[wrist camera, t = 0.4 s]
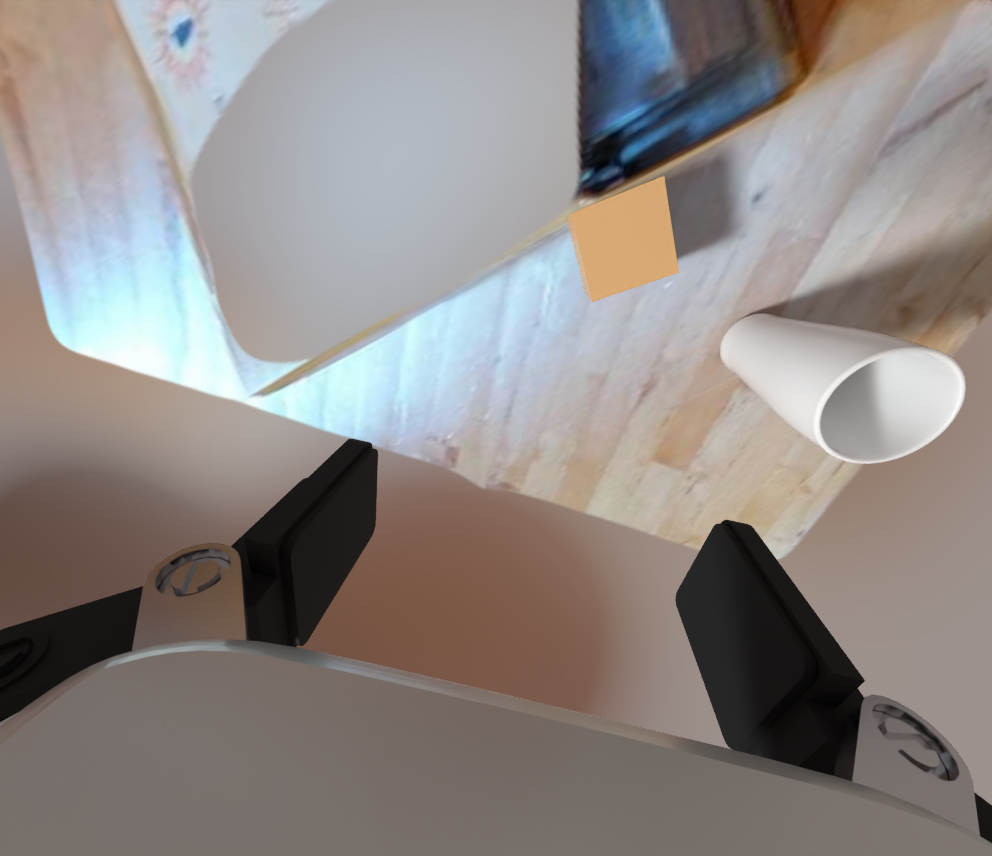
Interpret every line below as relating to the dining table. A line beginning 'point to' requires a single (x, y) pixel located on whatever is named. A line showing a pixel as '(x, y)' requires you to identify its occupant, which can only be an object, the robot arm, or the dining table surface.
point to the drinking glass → (847, 384)
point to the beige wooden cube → (624, 240)
